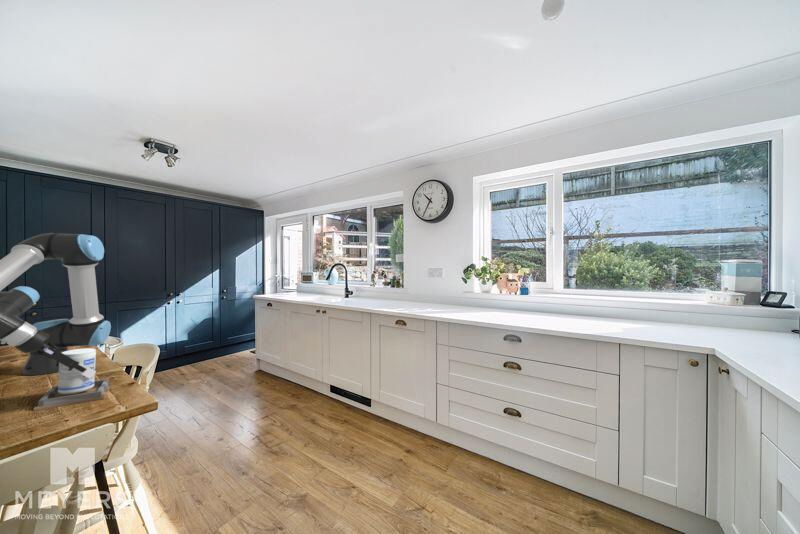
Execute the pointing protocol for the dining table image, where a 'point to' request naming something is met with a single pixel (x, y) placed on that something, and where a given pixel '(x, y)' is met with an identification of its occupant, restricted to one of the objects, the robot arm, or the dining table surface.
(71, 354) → the supplement tub
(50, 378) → the dining table surface
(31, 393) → the dining table surface
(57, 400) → the dock
